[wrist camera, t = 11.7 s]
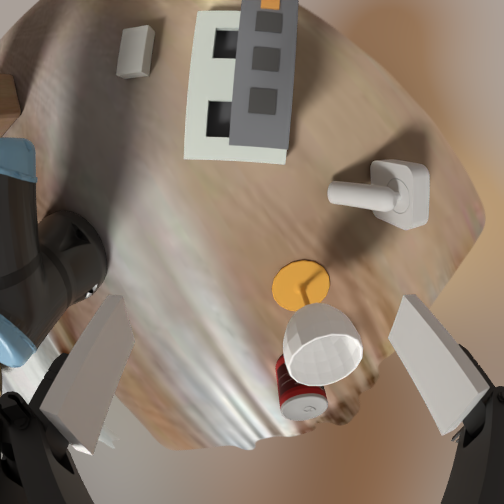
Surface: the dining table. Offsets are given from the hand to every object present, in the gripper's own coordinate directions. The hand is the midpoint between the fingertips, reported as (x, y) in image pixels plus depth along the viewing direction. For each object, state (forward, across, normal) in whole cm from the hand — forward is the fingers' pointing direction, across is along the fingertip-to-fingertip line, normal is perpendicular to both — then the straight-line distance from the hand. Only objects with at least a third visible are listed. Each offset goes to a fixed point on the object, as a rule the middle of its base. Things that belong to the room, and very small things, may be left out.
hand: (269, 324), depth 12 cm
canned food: (+26, +9, -31) cm, 41 cm away
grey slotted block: (+25, +1, +15) cm, 29 cm away
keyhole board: (+26, -2, +15) cm, 30 cm away
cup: (+26, +8, -14) cm, 30 cm away
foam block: (+26, -15, +21) cm, 37 cm away
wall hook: (+26, +16, +2) cm, 31 cm away
